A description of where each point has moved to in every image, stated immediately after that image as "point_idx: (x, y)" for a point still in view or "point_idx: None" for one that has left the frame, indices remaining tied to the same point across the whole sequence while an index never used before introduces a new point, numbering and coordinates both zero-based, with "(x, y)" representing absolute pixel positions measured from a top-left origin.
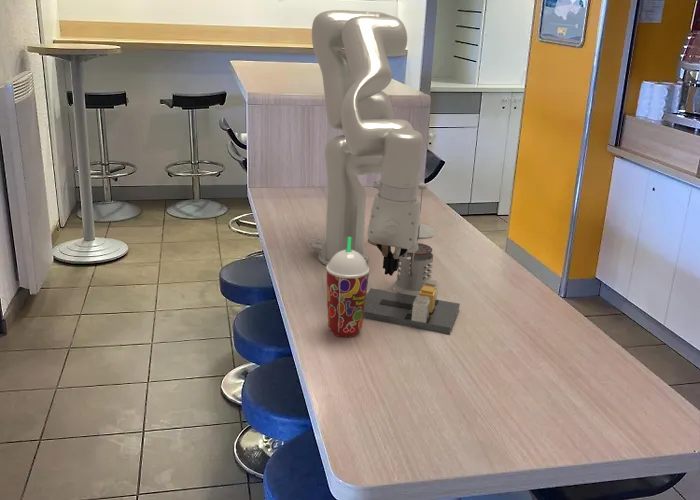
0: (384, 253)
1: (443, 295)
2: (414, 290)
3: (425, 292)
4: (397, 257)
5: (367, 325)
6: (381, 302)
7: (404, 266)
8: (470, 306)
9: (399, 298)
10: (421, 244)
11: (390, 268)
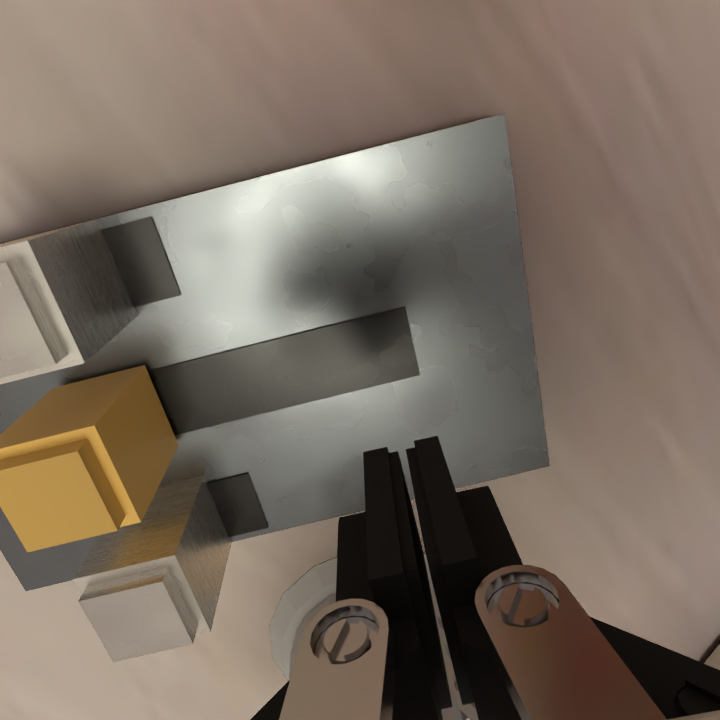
0: (533, 607)
1: (205, 644)
2: (335, 594)
3: (46, 450)
4: (324, 634)
5: (355, 45)
6: (401, 329)
7: None
8: (28, 624)
9: (337, 448)
10: None
11: (386, 487)
